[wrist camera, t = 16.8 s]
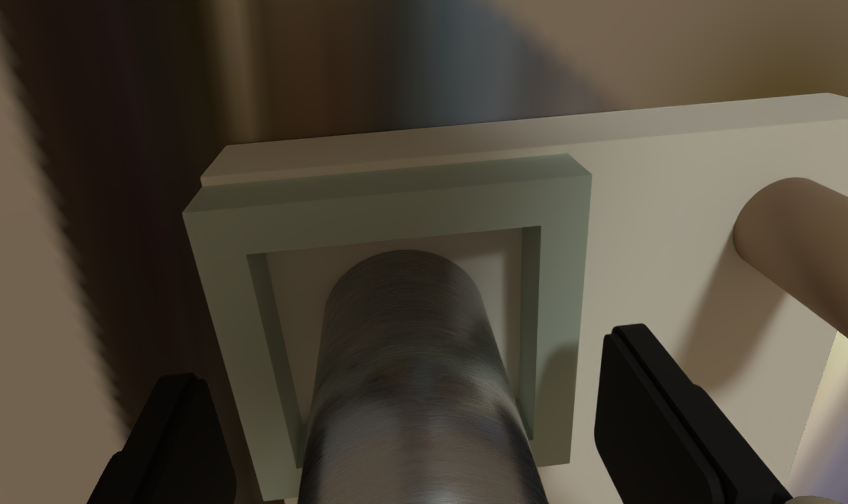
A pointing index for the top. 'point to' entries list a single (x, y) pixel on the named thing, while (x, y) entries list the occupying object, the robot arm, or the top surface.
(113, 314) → the top surface
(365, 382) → the leg peg
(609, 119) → the seat board
